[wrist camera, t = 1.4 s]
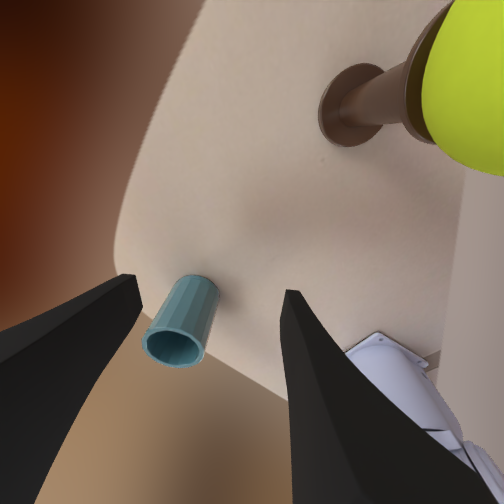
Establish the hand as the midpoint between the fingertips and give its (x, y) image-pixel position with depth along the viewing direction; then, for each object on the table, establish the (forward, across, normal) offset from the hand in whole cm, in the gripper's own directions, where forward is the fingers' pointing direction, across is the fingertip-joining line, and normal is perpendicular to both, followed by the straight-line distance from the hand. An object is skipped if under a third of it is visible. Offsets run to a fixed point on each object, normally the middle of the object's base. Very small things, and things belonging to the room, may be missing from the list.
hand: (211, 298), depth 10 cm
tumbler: (+10, +4, +9) cm, 14 cm away
